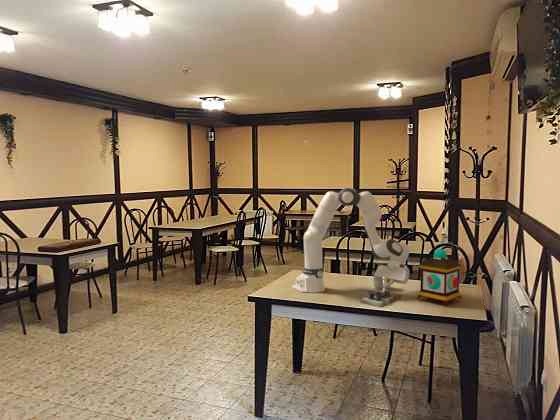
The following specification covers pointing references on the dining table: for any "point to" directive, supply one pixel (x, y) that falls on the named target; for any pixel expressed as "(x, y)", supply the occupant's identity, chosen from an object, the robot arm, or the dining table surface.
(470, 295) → the dining table surface
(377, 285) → the teacup
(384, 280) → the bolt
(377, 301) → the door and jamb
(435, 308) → the dining table surface
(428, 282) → the decorative lantern
